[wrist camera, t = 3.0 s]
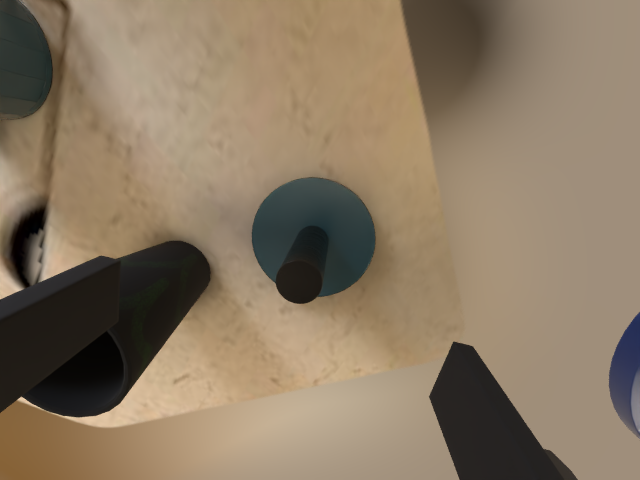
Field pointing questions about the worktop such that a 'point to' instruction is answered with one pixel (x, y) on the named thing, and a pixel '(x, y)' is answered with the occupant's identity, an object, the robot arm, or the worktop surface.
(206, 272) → the cup
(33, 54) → the pot
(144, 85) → the worktop surface
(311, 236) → the lid
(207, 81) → the worktop surface
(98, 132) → the worktop surface
